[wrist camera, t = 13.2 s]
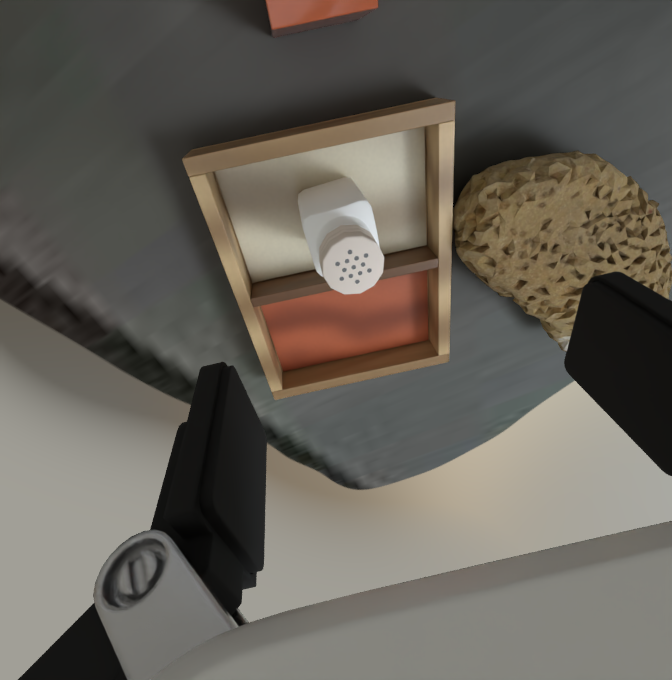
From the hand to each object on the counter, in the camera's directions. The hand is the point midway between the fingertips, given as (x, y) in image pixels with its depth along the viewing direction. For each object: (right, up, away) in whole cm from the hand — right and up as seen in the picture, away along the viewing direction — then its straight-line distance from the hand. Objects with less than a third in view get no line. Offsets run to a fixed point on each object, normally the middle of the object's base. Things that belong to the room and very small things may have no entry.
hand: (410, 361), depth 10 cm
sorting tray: (-2, +7, +19) cm, 21 cm away
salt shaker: (-2, +10, +16) cm, 19 cm away
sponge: (+15, +9, +21) cm, 27 cm away
